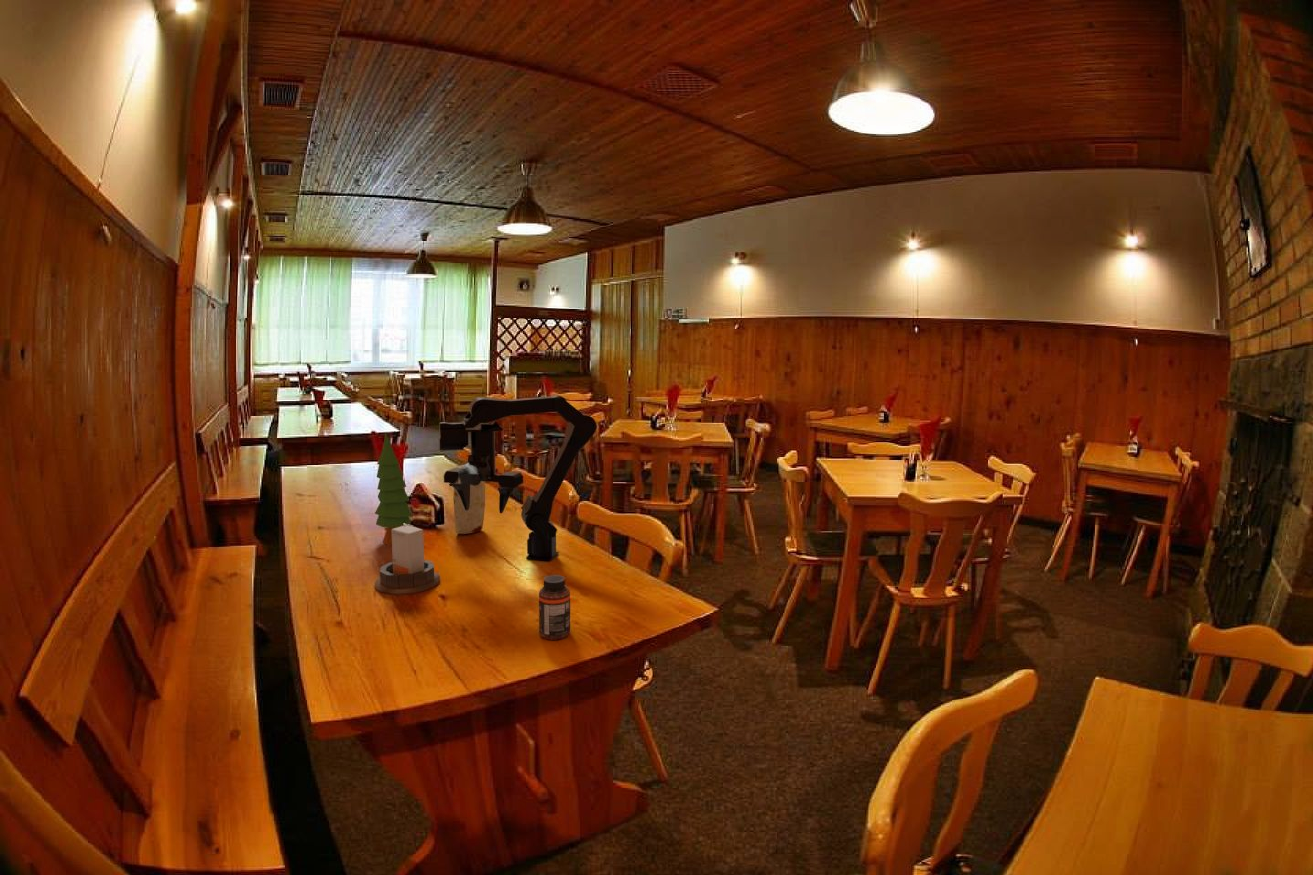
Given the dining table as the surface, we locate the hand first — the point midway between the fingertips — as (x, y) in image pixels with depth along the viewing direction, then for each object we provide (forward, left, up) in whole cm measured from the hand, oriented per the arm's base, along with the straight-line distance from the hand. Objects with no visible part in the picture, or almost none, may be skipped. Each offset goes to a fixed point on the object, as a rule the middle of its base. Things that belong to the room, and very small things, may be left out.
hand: (484, 511), depth 172 cm
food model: (+16, -22, -13) cm, 30 cm away
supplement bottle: (-32, +34, -13) cm, 48 cm away
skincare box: (+10, +18, -12) cm, 24 cm away
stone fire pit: (+10, +18, -13) cm, 24 cm away
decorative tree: (+31, -9, -13) cm, 35 cm away
